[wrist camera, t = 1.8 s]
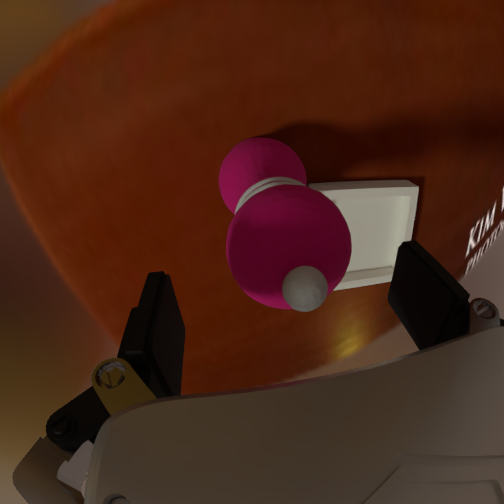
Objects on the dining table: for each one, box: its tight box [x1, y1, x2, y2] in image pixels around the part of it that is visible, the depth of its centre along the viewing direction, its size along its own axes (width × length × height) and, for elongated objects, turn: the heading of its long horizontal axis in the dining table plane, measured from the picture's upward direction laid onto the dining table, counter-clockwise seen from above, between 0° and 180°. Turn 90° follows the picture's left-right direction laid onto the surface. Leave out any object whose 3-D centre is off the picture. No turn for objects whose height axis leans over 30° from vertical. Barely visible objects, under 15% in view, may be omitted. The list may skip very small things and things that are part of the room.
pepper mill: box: [219, 137, 352, 311], centre depth 19 cm, size 7×7×20 cm
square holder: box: [308, 180, 419, 291], centre depth 31 cm, size 12×12×2 cm
